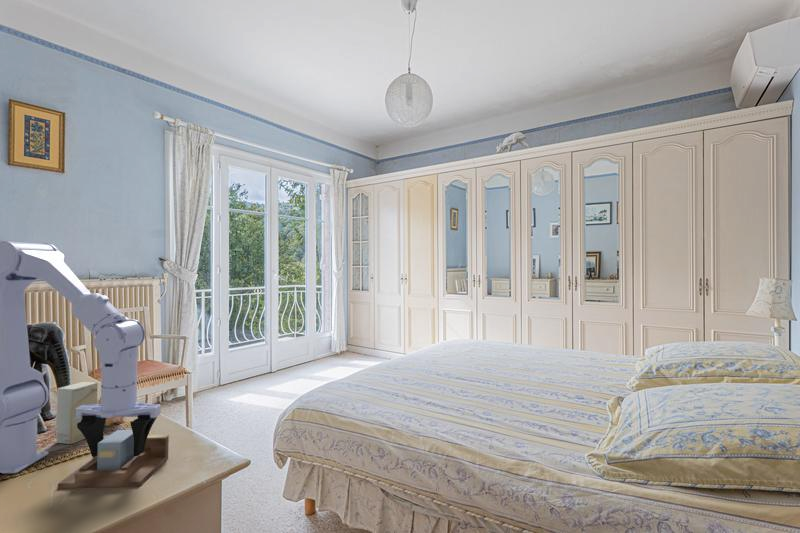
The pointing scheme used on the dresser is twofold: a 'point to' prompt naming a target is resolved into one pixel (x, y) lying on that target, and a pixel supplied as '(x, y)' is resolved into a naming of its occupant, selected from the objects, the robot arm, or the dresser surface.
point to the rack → (129, 473)
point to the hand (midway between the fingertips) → (118, 454)
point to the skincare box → (73, 409)
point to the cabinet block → (115, 450)
